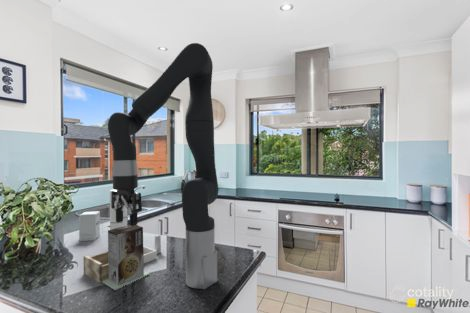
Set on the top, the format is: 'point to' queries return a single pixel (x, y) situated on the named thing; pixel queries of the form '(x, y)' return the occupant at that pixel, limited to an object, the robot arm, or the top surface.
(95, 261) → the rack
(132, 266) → the coffee box
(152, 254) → the white frame with handle
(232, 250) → the top surface
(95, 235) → the supplement box
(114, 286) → the mat
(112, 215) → the cylindrical container
